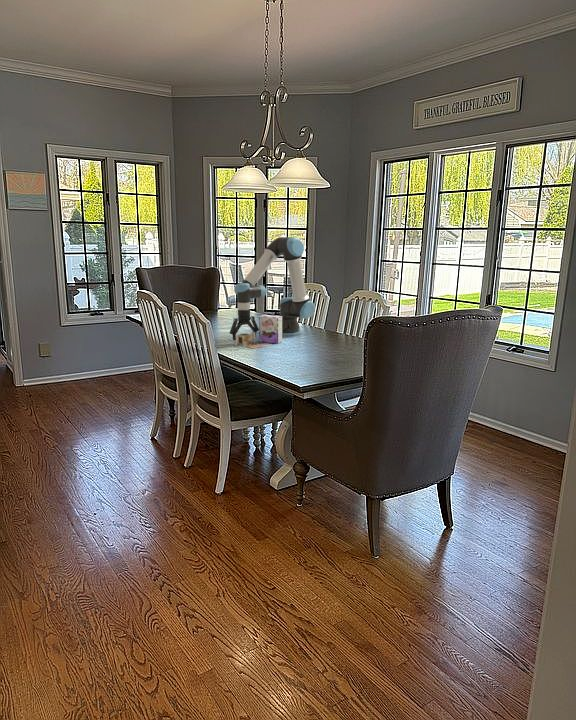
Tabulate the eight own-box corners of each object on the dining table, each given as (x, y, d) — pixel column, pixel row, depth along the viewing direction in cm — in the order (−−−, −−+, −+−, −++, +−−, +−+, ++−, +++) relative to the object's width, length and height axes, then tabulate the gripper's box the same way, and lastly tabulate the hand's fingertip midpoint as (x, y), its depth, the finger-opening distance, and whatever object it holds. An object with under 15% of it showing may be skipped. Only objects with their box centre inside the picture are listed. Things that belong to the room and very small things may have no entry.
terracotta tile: (255, 345, 321) (255, 344, 321) (261, 347, 316) (261, 346, 316) (245, 346, 317) (245, 346, 317) (252, 348, 312) (252, 348, 312)
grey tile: (266, 343, 326) (266, 342, 326) (272, 345, 321) (272, 344, 321) (256, 345, 322) (256, 344, 322) (263, 347, 316) (263, 346, 316)
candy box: (258, 341, 331) (258, 315, 327) (263, 340, 336) (263, 314, 332) (278, 344, 325) (277, 317, 321) (282, 342, 330) (282, 316, 326)
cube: (246, 342, 329) (246, 333, 328) (251, 344, 324) (251, 334, 323) (237, 344, 325) (237, 334, 324) (243, 345, 321) (242, 335, 319)
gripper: (257, 306, 330) (257, 340, 335) (223, 310, 315) (224, 345, 320) (264, 308, 324) (264, 342, 329) (229, 311, 310) (230, 347, 315)
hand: (244, 343), depth 325 cm, fingers open, 12 cm apart
